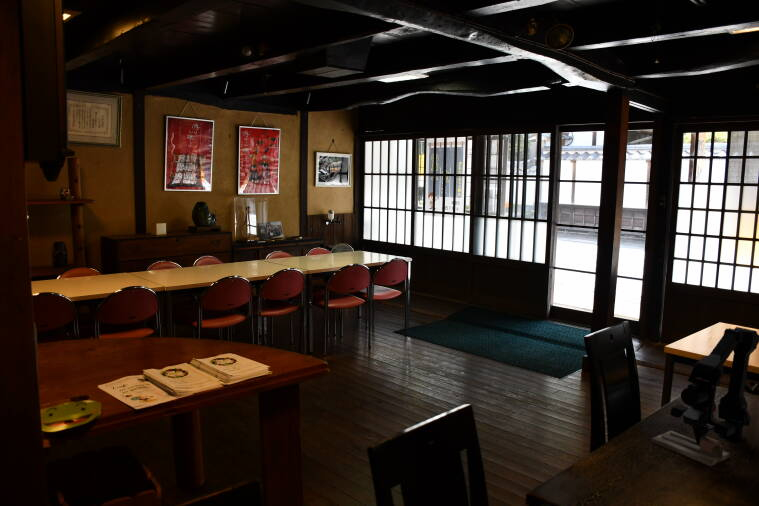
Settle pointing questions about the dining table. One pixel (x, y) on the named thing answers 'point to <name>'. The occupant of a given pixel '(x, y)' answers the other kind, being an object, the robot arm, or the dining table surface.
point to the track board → (690, 448)
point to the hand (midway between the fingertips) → (698, 444)
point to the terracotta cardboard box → (708, 444)
